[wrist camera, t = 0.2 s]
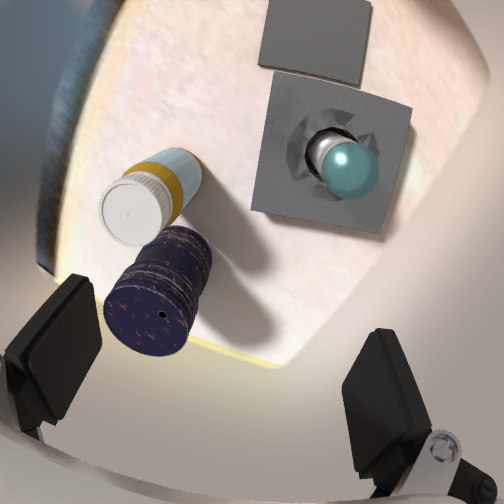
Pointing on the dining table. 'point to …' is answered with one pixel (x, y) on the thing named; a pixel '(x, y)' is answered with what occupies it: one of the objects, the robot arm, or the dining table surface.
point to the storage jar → (160, 293)
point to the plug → (343, 164)
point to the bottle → (149, 196)
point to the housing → (303, 129)
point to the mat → (316, 37)
